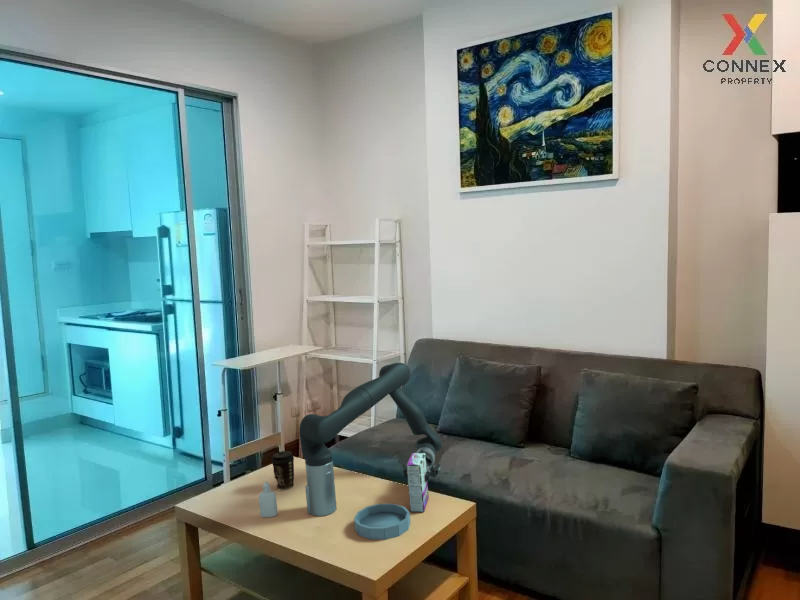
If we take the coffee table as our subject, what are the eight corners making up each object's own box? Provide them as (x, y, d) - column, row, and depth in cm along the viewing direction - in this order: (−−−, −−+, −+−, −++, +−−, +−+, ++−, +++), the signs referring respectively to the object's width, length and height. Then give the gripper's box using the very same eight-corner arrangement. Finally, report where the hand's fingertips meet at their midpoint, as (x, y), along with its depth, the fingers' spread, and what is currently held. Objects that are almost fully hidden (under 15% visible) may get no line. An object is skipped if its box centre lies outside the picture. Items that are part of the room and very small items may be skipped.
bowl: (350, 539, 179) (349, 528, 179) (362, 513, 196) (361, 503, 196) (405, 539, 176) (404, 528, 176) (413, 513, 193) (412, 503, 193)
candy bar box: (415, 497, 205) (411, 452, 204) (429, 498, 204) (426, 452, 203) (409, 512, 194) (405, 464, 193) (424, 512, 193) (420, 464, 192)
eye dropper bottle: (267, 511, 203) (264, 477, 202) (279, 514, 200) (276, 480, 199) (258, 516, 200) (255, 482, 198) (270, 519, 197) (267, 485, 196)
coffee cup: (278, 482, 229) (275, 449, 228) (299, 481, 228) (296, 449, 227) (270, 491, 220) (267, 458, 219) (292, 491, 219) (289, 457, 218)
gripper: (403, 450, 216) (396, 468, 200) (442, 450, 214) (438, 468, 197) (405, 470, 217) (398, 489, 200) (443, 470, 215) (439, 489, 198)
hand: (418, 479), depth 199 cm, fingers closed on candy bar box, 5 cm apart
